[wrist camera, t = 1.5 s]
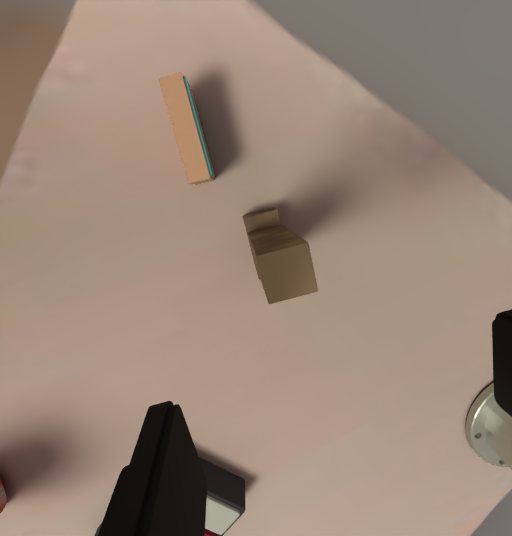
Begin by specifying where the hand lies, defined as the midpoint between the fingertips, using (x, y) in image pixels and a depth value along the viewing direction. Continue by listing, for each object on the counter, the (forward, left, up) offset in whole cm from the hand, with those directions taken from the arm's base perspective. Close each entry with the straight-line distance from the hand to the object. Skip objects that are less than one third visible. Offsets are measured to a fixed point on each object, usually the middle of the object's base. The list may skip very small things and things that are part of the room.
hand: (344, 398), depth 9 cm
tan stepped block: (0, -1, -22) cm, 22 cm away
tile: (+4, -11, -22) cm, 25 cm away
